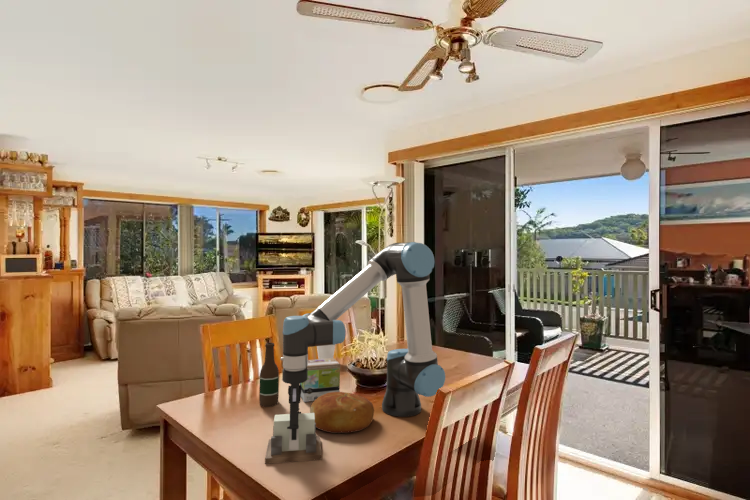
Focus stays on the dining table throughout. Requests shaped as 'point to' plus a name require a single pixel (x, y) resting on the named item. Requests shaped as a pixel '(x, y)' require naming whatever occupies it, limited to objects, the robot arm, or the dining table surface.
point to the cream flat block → (305, 427)
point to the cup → (325, 351)
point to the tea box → (320, 379)
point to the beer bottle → (269, 379)
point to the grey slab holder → (279, 456)
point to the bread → (342, 412)
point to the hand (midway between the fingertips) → (294, 443)
